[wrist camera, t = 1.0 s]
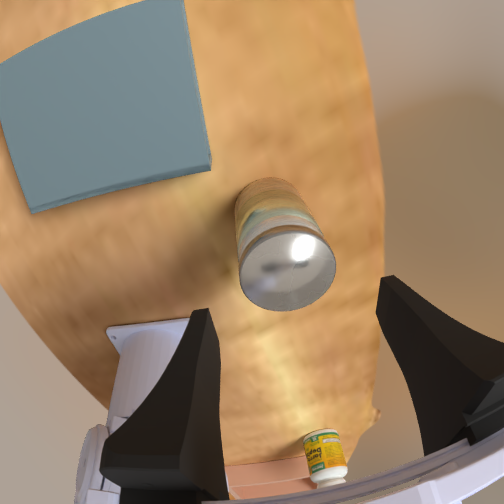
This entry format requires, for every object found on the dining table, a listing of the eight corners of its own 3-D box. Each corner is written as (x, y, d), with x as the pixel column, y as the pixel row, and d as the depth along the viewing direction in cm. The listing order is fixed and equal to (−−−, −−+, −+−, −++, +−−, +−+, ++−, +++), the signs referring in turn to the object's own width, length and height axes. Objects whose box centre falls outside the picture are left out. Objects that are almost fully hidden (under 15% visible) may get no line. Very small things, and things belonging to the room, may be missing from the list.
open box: (317, 476, 55) (320, 491, 52) (239, 487, 55) (240, 503, 52) (321, 452, 46) (325, 472, 43) (222, 466, 46) (223, 486, 43)
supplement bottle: (325, 442, 43) (337, 494, 35) (295, 442, 42) (306, 498, 34) (344, 427, 41) (359, 483, 33) (314, 427, 39) (327, 487, 31)
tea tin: (305, 234, 22) (335, 303, 16) (239, 245, 22) (247, 318, 16) (301, 172, 20) (336, 225, 14) (228, 183, 20) (231, 242, 14)
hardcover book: (211, 158, 19) (210, 170, 17) (47, 198, 19) (31, 214, 17) (183, 0, 13) (178, -8, 11) (10, 67, 13) (-11, 70, 11)
